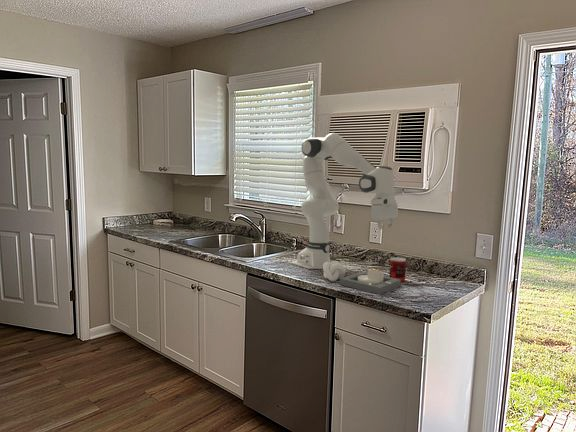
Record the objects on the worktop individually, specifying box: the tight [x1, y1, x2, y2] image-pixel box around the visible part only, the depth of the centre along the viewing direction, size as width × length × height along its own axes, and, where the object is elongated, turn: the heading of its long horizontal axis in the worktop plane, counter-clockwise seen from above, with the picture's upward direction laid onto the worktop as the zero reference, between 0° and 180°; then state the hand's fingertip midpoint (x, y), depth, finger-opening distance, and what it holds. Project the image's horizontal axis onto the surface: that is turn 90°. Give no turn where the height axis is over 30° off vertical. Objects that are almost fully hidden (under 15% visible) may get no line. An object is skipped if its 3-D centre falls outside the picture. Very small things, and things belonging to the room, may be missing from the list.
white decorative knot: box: [322, 260, 347, 282], centre depth 224 cm, size 11×12×9 cm
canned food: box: [388, 256, 407, 283], centre depth 226 cm, size 8×8×11 cm
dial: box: [358, 268, 385, 285], centre depth 215 cm, size 12×12×6 cm
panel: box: [338, 271, 402, 295], centre depth 216 cm, size 22×20×3 cm
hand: (385, 228), depth 217 cm, fingers open, 8 cm apart
